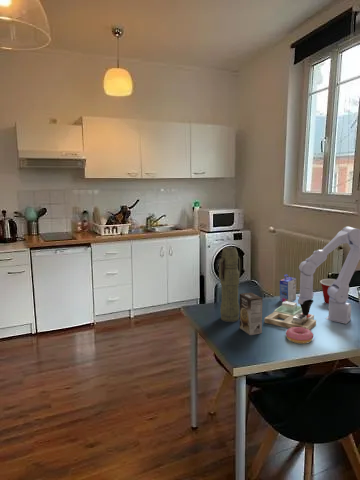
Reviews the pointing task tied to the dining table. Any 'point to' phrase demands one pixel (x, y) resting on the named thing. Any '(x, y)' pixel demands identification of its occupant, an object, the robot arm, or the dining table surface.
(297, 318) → the block
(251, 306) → the coffee box
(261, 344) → the dining table surface
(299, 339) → the doughnut
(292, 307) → the billet
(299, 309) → the tote
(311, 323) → the tan open frame
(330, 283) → the plastic cup
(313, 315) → the button housing
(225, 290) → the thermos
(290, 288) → the ink cartridge box
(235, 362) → the dining table surface
